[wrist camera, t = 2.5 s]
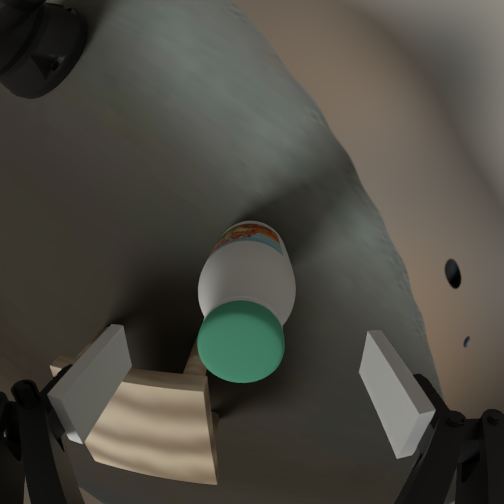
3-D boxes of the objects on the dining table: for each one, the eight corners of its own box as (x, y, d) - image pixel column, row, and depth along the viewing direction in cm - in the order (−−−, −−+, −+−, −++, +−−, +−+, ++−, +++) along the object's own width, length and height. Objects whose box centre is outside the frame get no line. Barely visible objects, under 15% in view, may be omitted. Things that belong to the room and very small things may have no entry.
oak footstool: (94, 320, 37) (49, 365, 25) (218, 330, 36) (203, 391, 25) (121, 411, 41) (95, 460, 30) (225, 425, 41) (217, 484, 29)
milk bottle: (298, 243, 33) (346, 330, 14) (261, 297, 35) (261, 422, 16) (240, 206, 33) (211, 249, 13) (204, 263, 34) (145, 363, 15)
